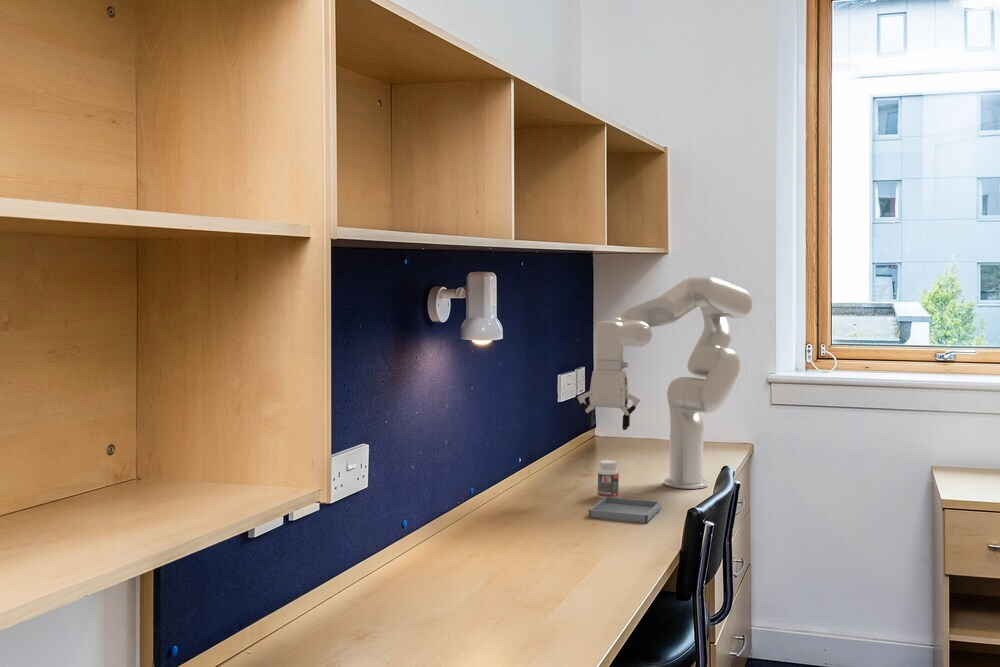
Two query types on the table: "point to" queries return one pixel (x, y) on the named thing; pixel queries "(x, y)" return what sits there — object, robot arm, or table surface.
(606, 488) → the pill bottle
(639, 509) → the slate tray
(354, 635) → the table surface
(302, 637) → the table surface
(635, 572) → the table surface
